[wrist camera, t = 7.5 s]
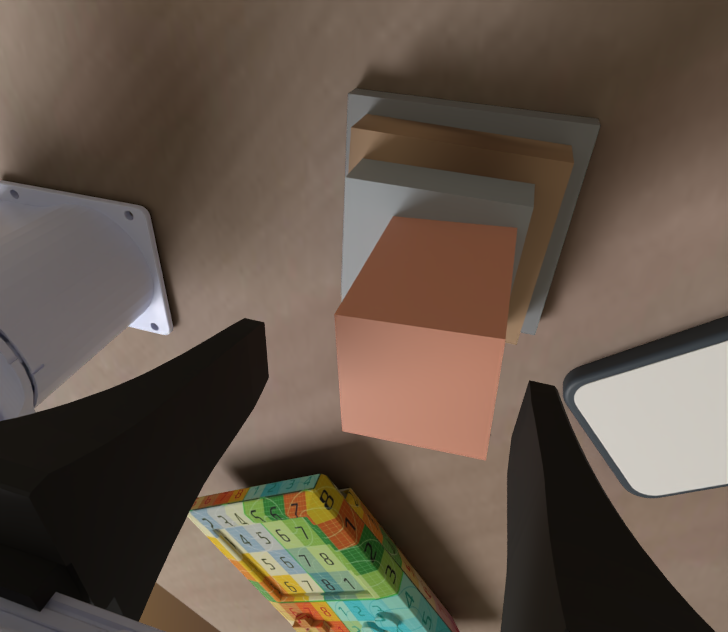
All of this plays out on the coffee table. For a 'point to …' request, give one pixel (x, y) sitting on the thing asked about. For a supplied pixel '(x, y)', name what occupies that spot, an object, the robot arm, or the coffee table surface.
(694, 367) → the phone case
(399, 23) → the coffee table surface
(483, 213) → the tower top slab
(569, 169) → the tower middle slab
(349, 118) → the tower base slab
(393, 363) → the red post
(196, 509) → the puzzle game
